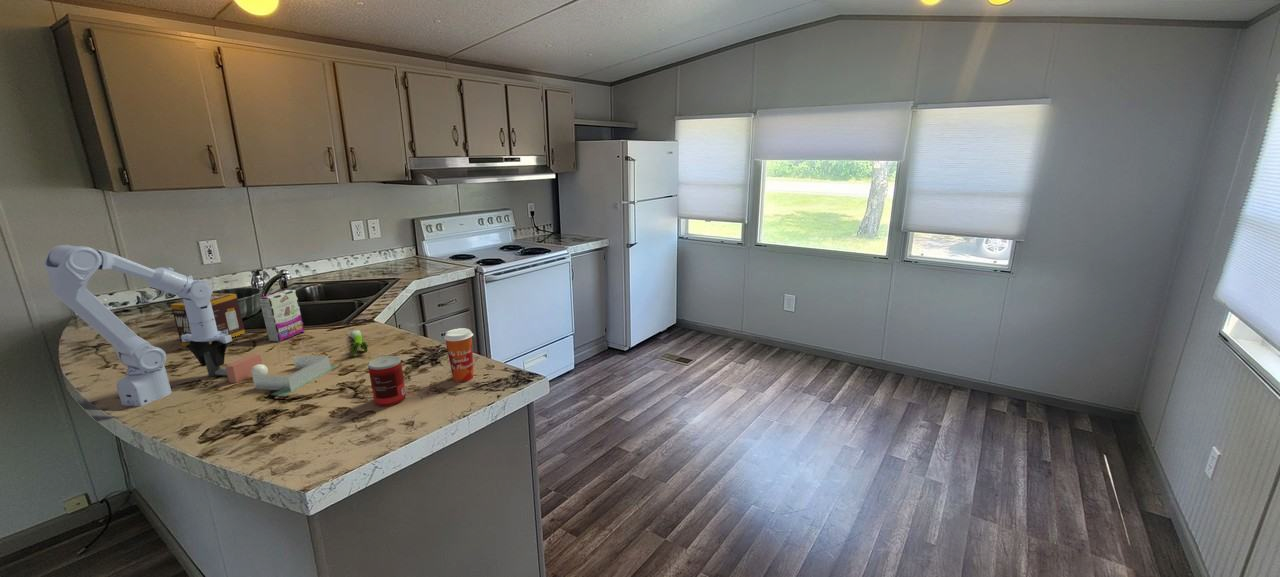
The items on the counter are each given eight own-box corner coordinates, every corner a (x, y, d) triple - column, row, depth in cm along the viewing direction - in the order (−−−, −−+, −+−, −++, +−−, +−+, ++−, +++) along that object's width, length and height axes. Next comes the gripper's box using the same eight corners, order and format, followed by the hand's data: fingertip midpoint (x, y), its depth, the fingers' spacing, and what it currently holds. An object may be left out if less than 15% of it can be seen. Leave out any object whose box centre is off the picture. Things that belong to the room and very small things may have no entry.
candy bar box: (294, 331, 192) (285, 289, 188) (305, 332, 191) (297, 289, 187) (267, 341, 181) (257, 297, 177) (279, 342, 180) (269, 297, 176)
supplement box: (180, 347, 178) (169, 304, 174) (222, 332, 193) (212, 292, 189) (206, 348, 176) (195, 304, 173) (245, 333, 191) (236, 293, 187)
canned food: (397, 390, 139) (391, 353, 137) (412, 398, 134) (406, 360, 132) (368, 401, 134) (362, 362, 131) (382, 410, 129) (376, 369, 126)
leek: (367, 338, 188) (373, 357, 163) (346, 344, 185) (349, 365, 160) (362, 323, 187) (367, 340, 161) (340, 329, 183) (343, 347, 158)
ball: (261, 380, 146) (258, 367, 145) (248, 380, 146) (245, 367, 145) (272, 374, 149) (269, 362, 148) (260, 374, 150) (257, 361, 149)
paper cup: (448, 385, 142) (442, 337, 139) (450, 374, 149) (444, 329, 146) (477, 381, 144) (472, 334, 141) (478, 371, 151) (473, 326, 148)
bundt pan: (279, 313, 216) (275, 290, 213) (204, 331, 194) (197, 306, 191) (249, 306, 229) (245, 284, 226) (175, 322, 207) (169, 298, 204)
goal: (291, 391, 138) (288, 377, 137) (255, 389, 140) (252, 376, 139) (330, 369, 153) (328, 356, 152) (298, 367, 154) (295, 355, 153)
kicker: (236, 382, 144) (231, 359, 142) (196, 381, 146) (190, 358, 144) (263, 369, 152) (258, 348, 151) (225, 368, 154) (219, 346, 153)
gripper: (236, 317, 148) (246, 360, 152) (193, 316, 150) (204, 359, 154) (214, 324, 142) (225, 370, 145) (169, 323, 144) (181, 368, 147)
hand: (213, 365), depth 149 cm, fingers open, 4 cm apart
